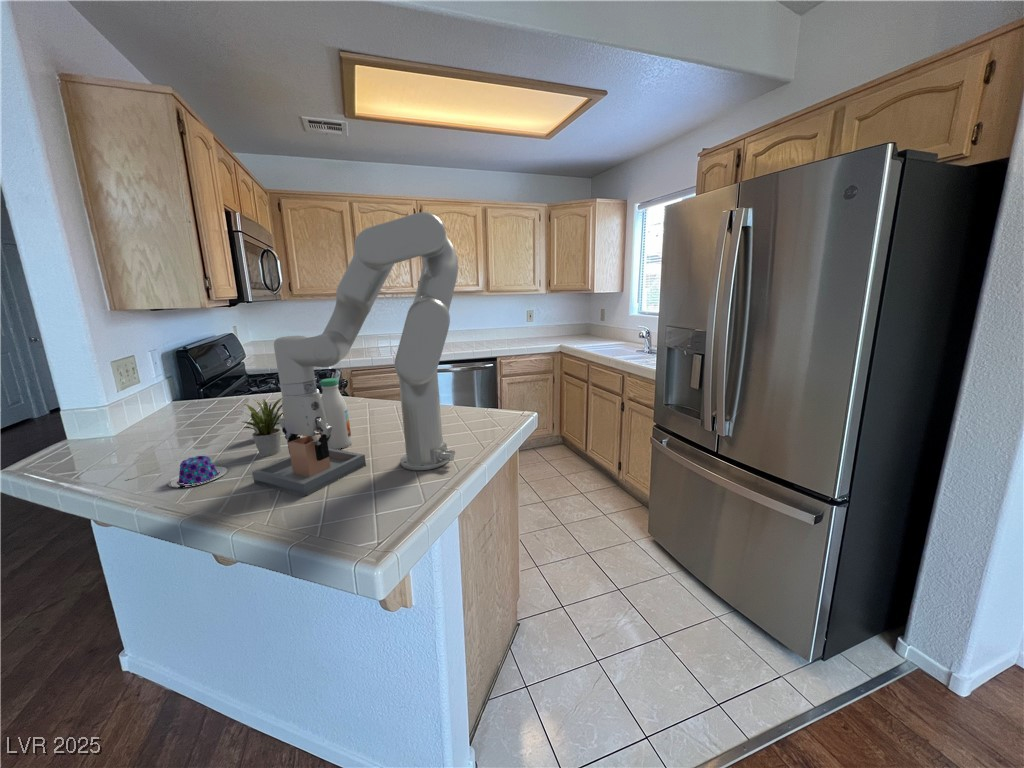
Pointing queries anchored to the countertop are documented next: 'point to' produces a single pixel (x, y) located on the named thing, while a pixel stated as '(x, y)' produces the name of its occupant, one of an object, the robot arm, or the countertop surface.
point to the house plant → (266, 429)
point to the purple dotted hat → (198, 471)
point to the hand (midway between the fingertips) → (309, 455)
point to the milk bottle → (336, 414)
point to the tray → (286, 480)
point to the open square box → (306, 457)
